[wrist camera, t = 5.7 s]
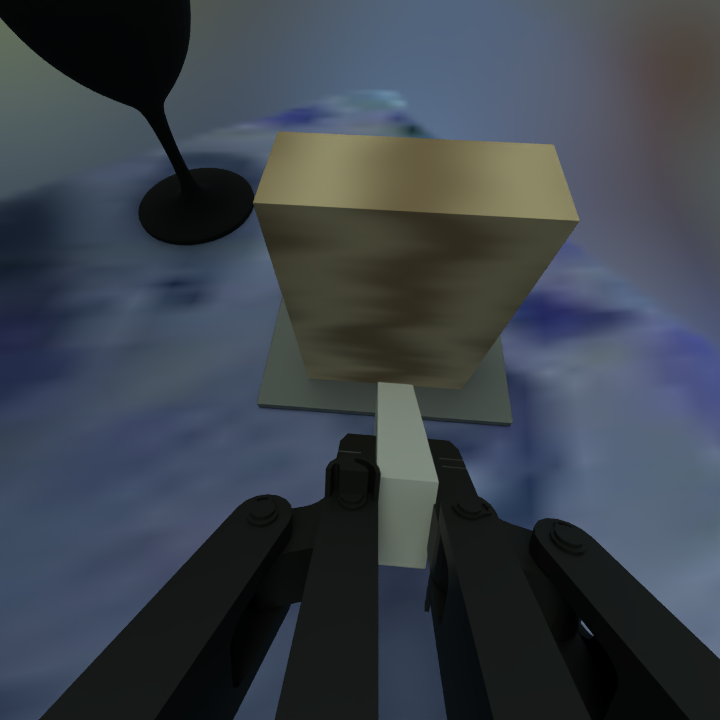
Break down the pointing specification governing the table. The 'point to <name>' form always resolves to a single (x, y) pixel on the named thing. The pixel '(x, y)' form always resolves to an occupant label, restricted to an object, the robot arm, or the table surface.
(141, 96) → the wine glass
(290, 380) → the rubber mat
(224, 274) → the table surface
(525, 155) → the oak board
